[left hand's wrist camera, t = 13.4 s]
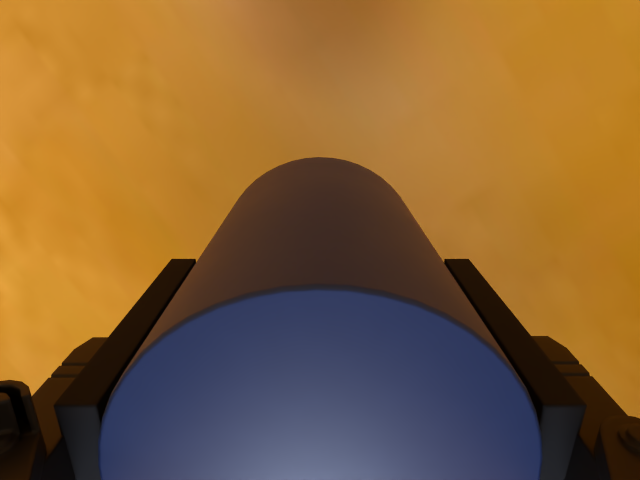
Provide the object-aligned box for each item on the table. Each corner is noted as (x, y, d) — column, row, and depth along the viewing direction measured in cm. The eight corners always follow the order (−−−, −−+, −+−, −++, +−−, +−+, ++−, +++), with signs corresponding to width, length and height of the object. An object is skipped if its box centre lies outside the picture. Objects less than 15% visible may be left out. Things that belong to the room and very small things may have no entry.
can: (245, 345, 19) (165, 637, 9) (203, 172, 17) (24, 322, 7) (422, 323, 19) (538, 603, 9) (408, 142, 16) (554, 252, 6)
